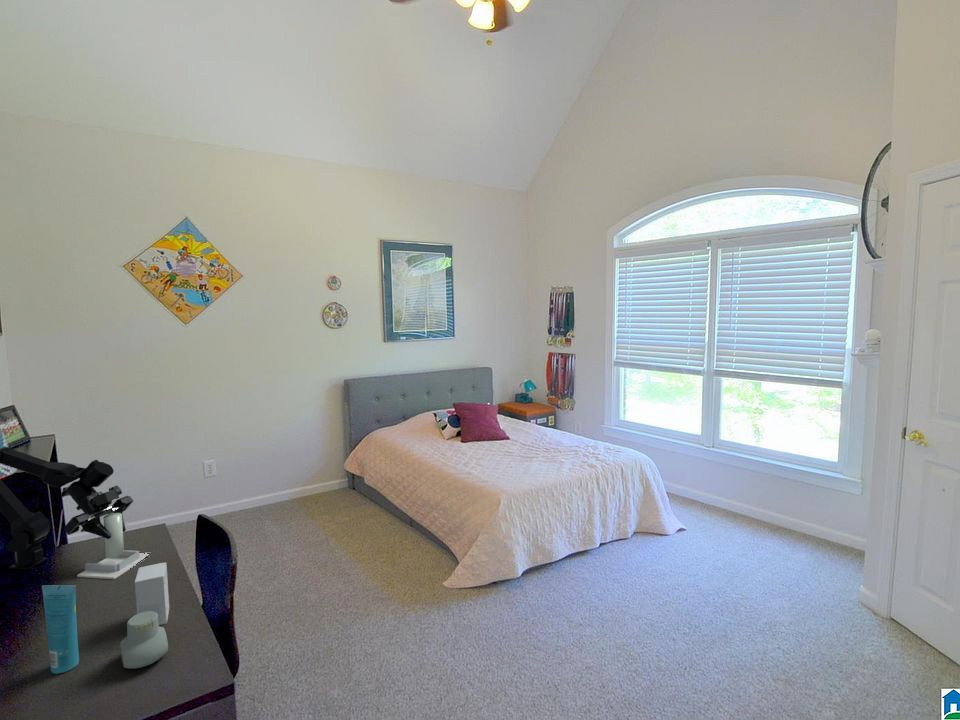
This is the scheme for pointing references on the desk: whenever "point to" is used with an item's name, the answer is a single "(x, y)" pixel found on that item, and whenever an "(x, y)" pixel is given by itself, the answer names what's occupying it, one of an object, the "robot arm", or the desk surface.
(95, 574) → the white railed tray
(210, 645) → the desk surface
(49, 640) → the tube
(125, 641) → the air freshener
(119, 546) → the domed peg
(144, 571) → the small box
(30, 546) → the robot arm
